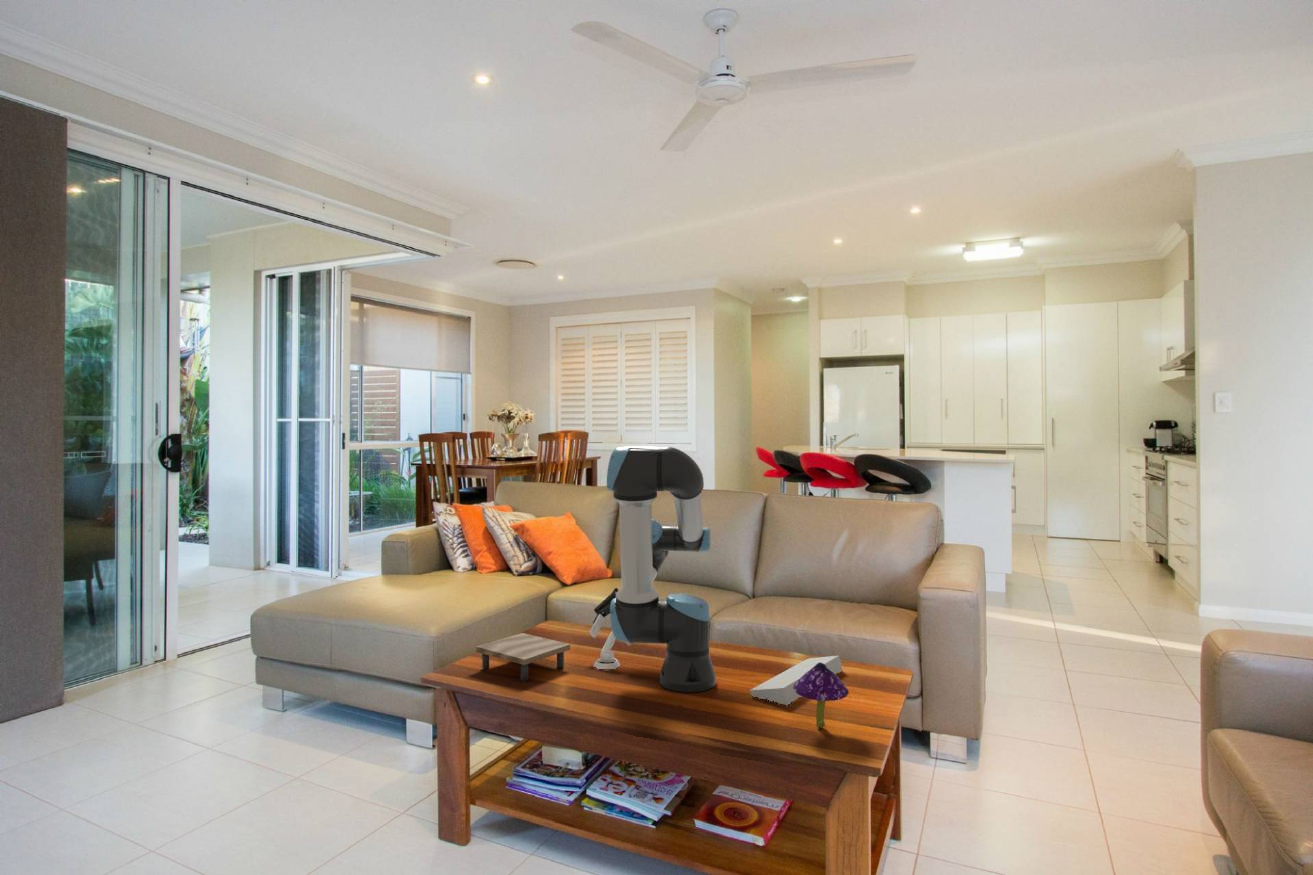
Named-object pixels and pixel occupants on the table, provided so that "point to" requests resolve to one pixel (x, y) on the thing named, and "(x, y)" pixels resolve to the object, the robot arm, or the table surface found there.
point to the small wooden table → (523, 651)
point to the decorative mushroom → (820, 688)
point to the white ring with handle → (607, 655)
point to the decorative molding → (792, 680)
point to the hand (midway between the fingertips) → (609, 639)
